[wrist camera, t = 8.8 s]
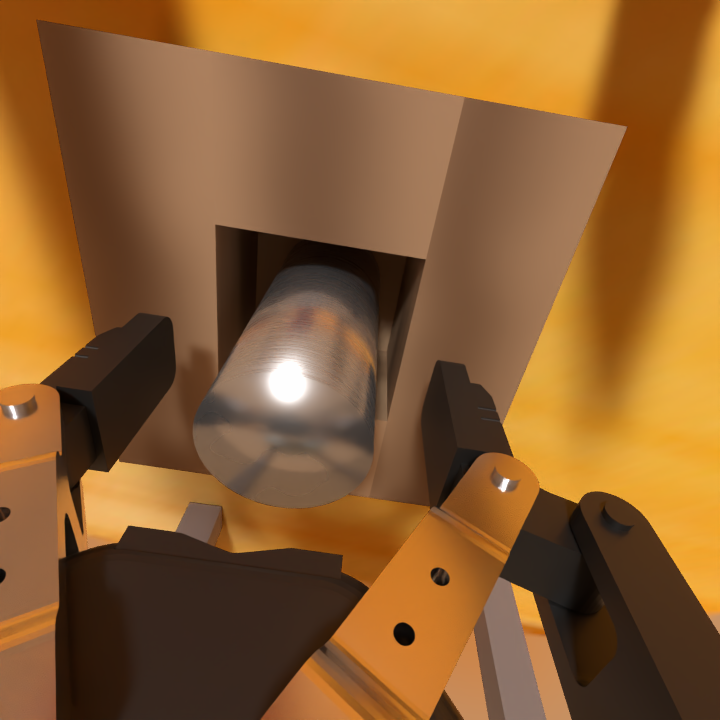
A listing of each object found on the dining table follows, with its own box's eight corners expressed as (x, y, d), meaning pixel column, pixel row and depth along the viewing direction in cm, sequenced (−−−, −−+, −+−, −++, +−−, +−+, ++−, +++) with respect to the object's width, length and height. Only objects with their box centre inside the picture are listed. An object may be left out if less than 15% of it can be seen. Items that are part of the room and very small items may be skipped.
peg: (388, 240, 17) (389, 390, 9) (370, 328, 19) (358, 519, 11) (287, 222, 17) (188, 357, 8) (280, 314, 19) (196, 494, 11)
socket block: (547, 116, 16) (627, 126, 10) (447, 418, 23) (465, 511, 18) (154, 45, 15) (36, 18, 10) (180, 377, 22) (119, 461, 17)
